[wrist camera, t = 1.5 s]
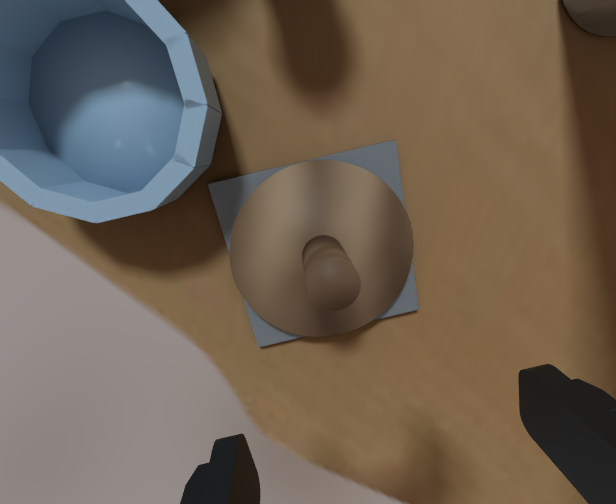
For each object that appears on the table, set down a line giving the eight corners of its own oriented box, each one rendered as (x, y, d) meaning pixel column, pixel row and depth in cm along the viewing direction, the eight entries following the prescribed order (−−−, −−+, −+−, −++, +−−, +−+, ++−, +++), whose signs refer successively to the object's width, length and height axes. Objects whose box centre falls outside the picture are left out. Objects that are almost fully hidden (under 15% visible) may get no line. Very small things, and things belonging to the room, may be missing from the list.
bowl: (186, -23, 21) (153, -82, 16) (243, 182, 25) (233, 191, 19) (-15, 25, 21) (-117, -18, 16) (74, 222, 25) (16, 242, 19)
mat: (392, 140, 25) (395, 139, 24) (416, 306, 29) (418, 309, 28) (209, 183, 25) (207, 184, 24) (258, 343, 29) (258, 347, 28)
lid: (395, 140, 24) (438, 135, 17) (418, 309, 28) (460, 358, 22) (207, 184, 24) (178, 196, 17) (258, 347, 28) (250, 407, 22)
